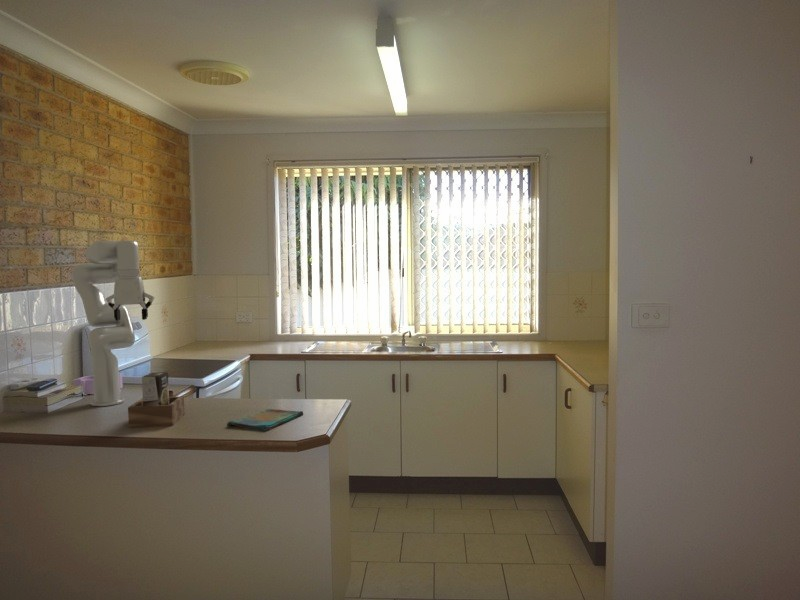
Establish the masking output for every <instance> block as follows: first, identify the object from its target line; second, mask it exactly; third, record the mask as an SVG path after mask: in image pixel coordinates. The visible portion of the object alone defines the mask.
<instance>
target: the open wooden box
mask: <svg viewBox="0 0 800 600" xmlns="http://www.w3.org/2000/svg"><path fill="white" fill-rule="evenodd" d="M127 414H128V415H127V416H128V428H141V427H143V428H144V427H163V426H164V427H165V426H174V425H175V424H176V423H177V422H178V421H179V420H180V419H182V418H183V417H184V416H186V414H185V396H173V397H169V405H154V406H143V397H142V398H141V399H139V400H137V401H136V402H133V404H131V405H129V406H128V407H127Z"/></svg>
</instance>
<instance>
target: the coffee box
mask: <svg viewBox="0 0 800 600" xmlns="http://www.w3.org/2000/svg"><path fill="white" fill-rule="evenodd" d="M141 387H142V388H141V389H142V398H143V406H154V405H169V391H170V390H169V388H170V387H169V373H168V371H162V372H161V371H160V372H150V373H147V374H145V375H142V376H141Z"/></svg>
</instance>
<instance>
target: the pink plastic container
mask: <svg viewBox="0 0 800 600" xmlns="http://www.w3.org/2000/svg"><path fill="white" fill-rule="evenodd" d="M72 385H73V387H74V386H79V385H81V386H83V392H84V394H92V393H94V381H93V374H91V375H86V376H81V377H78V378H73V380H72ZM123 385H124V384H123V373H121V372H119V389H120V388H121V389H123V388H122V387H124V386H123ZM121 389H120V390H121Z"/></svg>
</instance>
